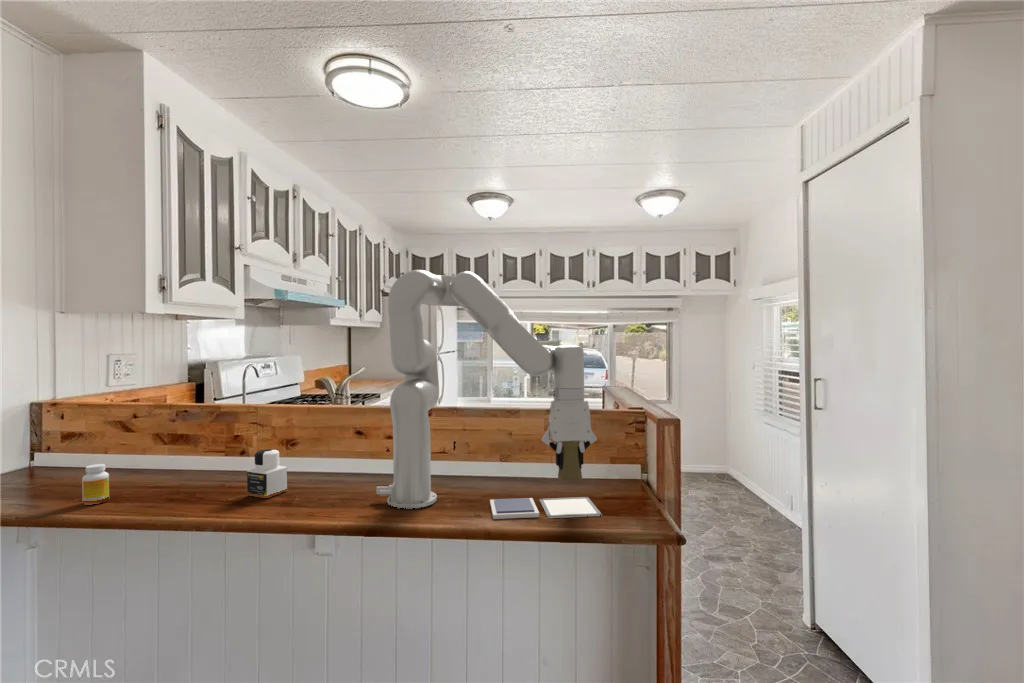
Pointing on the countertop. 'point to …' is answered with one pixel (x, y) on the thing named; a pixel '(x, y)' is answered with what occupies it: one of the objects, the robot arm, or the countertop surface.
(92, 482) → the supplement bottle
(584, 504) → the marked square
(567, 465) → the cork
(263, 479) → the medicine bottle
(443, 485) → the countertop surface
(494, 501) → the ink pad
